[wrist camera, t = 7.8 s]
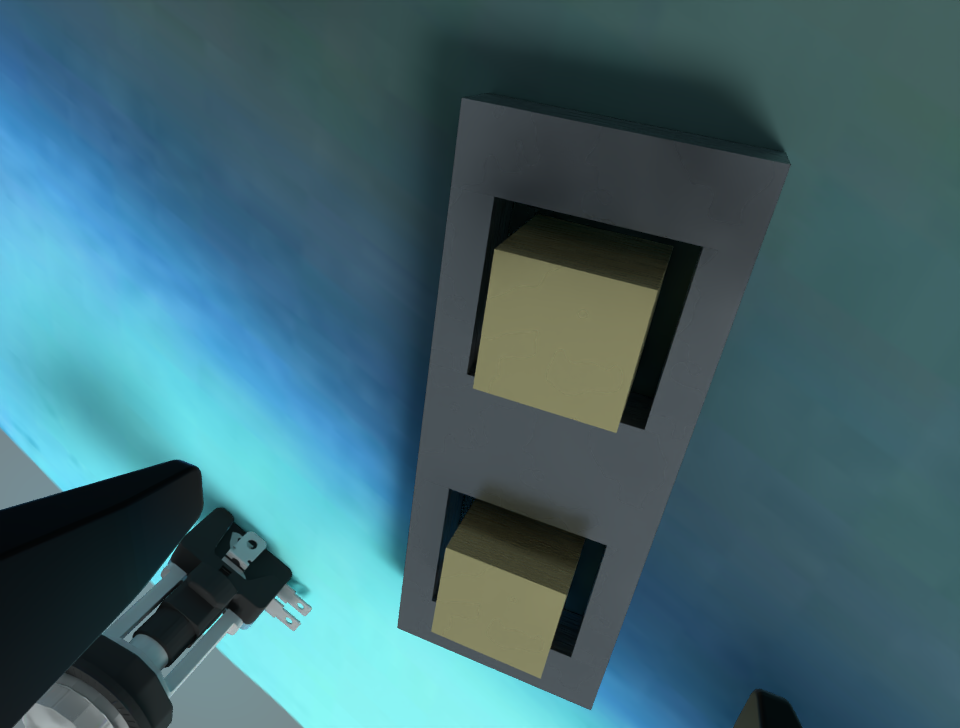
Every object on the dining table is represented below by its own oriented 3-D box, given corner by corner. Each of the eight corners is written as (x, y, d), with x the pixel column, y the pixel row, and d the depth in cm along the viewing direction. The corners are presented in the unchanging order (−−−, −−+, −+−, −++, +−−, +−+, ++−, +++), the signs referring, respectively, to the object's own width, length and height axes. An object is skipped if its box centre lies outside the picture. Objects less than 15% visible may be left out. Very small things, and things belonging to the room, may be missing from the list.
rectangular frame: (600, 666, 26) (590, 710, 24) (418, 592, 28) (397, 627, 26) (785, 152, 16) (791, 164, 15) (488, 93, 18) (461, 98, 16)
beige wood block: (637, 368, 20) (616, 433, 17) (516, 333, 21) (472, 388, 18) (673, 245, 18) (657, 290, 15) (538, 213, 19) (494, 249, 16)
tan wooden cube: (568, 593, 25) (540, 678, 22) (472, 555, 26) (431, 631, 23) (592, 515, 23) (566, 595, 20) (488, 477, 24) (445, 547, 21)
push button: (338, 577, 29) (174, 793, 21) (293, 628, 32) (131, 836, 24) (225, 482, 29) (13, 659, 21) (189, 542, 32) (-9, 719, 24)
